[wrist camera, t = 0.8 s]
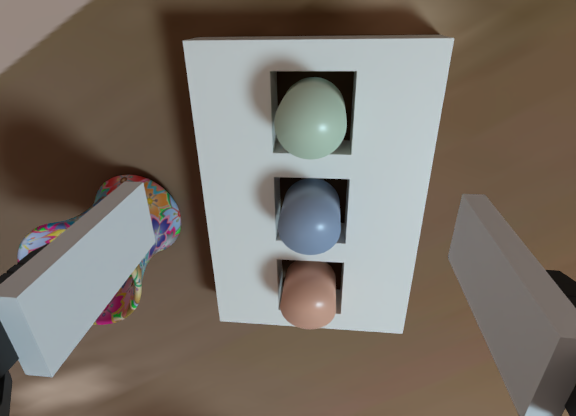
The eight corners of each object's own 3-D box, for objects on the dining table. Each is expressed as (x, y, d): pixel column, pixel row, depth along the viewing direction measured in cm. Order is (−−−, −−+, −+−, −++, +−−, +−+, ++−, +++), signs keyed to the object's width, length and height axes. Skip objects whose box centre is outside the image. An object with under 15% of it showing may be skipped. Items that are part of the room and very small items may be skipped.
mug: (158, 153, 34) (92, 209, 25) (204, 237, 38) (162, 312, 28) (56, 191, 37) (-37, 252, 28) (108, 264, 41) (41, 340, 32)
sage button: (282, 140, 30) (275, 158, 26) (281, 76, 28) (272, 87, 24) (343, 141, 29) (344, 160, 26) (346, 77, 27) (349, 87, 23)
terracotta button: (286, 295, 37) (280, 327, 34) (285, 256, 35) (279, 285, 31) (334, 298, 37) (334, 331, 33) (336, 258, 35) (337, 288, 31)
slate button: (284, 226, 34) (278, 253, 30) (283, 177, 31) (276, 199, 28) (338, 228, 33) (339, 256, 29) (341, 178, 31) (342, 202, 27)
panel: (228, 297, 41) (220, 321, 38) (198, 37, 29) (182, 40, 26) (397, 308, 39) (402, 333, 36) (440, 34, 27) (454, 38, 24)
